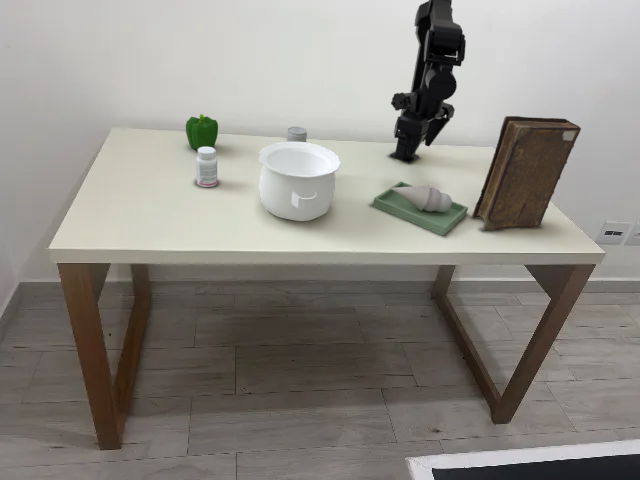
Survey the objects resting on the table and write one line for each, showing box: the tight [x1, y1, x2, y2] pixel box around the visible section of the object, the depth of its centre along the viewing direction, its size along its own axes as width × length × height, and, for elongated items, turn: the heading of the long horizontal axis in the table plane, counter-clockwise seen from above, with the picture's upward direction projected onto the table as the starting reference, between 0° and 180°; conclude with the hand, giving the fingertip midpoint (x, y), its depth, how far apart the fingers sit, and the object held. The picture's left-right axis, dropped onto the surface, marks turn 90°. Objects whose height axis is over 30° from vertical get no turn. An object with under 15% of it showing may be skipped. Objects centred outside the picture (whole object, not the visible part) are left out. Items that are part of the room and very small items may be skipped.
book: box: [471, 115, 582, 231], centre depth 110 cm, size 17×7×25 cm, turn 99°
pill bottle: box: [195, 147, 218, 188], centre depth 115 cm, size 5×5×8 cm
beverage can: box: [285, 126, 308, 143], centre depth 123 cm, size 5×5×12 cm
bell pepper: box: [185, 113, 219, 152], centre depth 131 cm, size 8×8×10 cm
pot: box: [258, 141, 342, 222], centre depth 109 cm, size 22×17×12 cm
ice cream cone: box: [389, 184, 453, 212], centre depth 115 cm, size 6×6×15 cm
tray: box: [372, 181, 469, 236], centre depth 117 cm, size 13×18×2 cm
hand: (418, 150), depth 119 cm, fingers open, 9 cm apart
